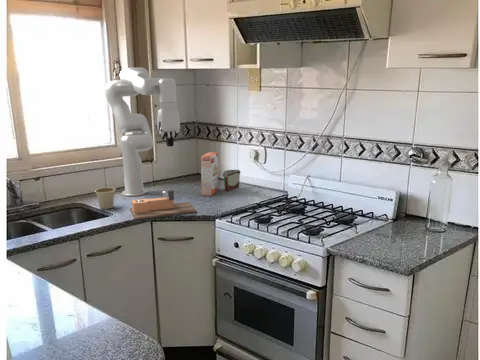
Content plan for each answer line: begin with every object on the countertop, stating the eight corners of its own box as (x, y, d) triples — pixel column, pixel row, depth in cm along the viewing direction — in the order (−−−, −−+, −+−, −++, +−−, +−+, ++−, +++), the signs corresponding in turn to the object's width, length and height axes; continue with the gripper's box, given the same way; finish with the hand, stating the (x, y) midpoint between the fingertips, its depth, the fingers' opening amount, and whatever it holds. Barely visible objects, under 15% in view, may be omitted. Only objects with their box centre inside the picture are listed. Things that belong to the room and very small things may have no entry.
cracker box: (212, 196, 243) (211, 156, 238) (201, 195, 244) (200, 156, 239) (219, 189, 256) (218, 151, 251) (208, 189, 257) (207, 151, 253)
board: (130, 210, 220) (129, 208, 220) (188, 203, 229) (188, 201, 229) (134, 219, 205) (134, 217, 205) (196, 212, 214) (196, 210, 214)
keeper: (161, 193, 224) (161, 185, 223) (168, 193, 225) (168, 184, 224) (168, 200, 212) (167, 191, 211) (175, 199, 213) (174, 190, 212)
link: (134, 213, 212) (133, 203, 211) (132, 209, 217) (131, 200, 216) (174, 208, 218) (174, 199, 217) (171, 205, 223) (171, 196, 222)
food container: (231, 186, 264) (231, 168, 262) (240, 187, 261) (240, 169, 258) (218, 190, 254) (217, 172, 252) (227, 192, 251) (226, 173, 249)
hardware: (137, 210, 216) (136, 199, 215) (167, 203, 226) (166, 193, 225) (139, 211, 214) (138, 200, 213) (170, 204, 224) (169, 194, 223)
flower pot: (99, 211, 219) (98, 193, 217) (93, 206, 226) (92, 189, 224) (119, 208, 224) (118, 190, 222) (113, 203, 231) (111, 186, 229)
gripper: (176, 105, 223) (178, 143, 227) (149, 106, 213) (151, 147, 217) (186, 105, 217) (187, 145, 221) (159, 107, 207) (161, 148, 211)
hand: (170, 146), depth 219 cm, fingers closed
